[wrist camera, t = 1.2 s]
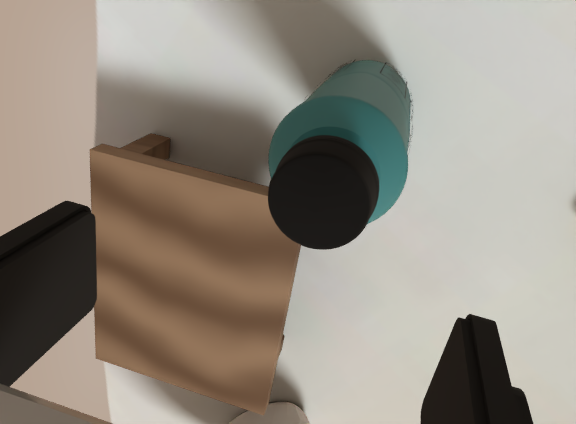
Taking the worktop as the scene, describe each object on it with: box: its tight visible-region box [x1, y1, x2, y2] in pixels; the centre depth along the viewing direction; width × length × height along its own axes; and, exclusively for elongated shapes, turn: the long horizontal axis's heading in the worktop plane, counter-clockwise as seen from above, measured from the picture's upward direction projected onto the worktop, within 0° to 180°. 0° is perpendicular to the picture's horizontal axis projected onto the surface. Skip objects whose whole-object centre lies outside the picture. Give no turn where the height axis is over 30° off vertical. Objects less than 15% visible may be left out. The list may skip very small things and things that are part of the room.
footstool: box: [90, 133, 301, 416], centre depth 40 cm, size 20×16×8 cm
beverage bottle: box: [268, 60, 413, 249], centre depth 25 cm, size 6×7×20 cm
